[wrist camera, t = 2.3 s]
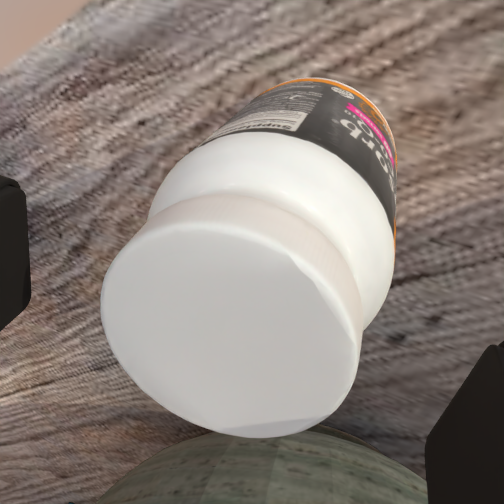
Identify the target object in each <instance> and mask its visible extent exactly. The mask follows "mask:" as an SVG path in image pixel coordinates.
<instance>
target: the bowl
mask: <svg viewBox="0 0 504 504" xmlns="http://www.w3.org/2000/svg"><path fill="white" fill-rule="evenodd" d="M95 504H428V494H427V481H425V480H424V479H422V478H421V477H419V476H418V475H417V474H415V473H414V472H412V471H411V470H409V469H408V468H406V467H405V466H403V465H402V464H400V463H399V462H397V461H395V460H393V459H390V458H388V457H386V456H384V455H383V454H382V453H381V452H380V451H379V450H377V449H376V448H374V447H373V446H371V445H369V444H368V443H366V442H364V441H363V440H361V439H359V438H357V437H354V436H352V435H350V434H347V433H345V432H342V431H340V430H337V429H334V428H331V427H327V426H324V425H320V424H316V425H314V426H312V427H310V428H308V429H306V430H304V431H301V432H298V433H295V434H290V435H286V436H280V437H271V438H246V437H239V436H233V435H227V434H223V433H218V432H212V433H209V434H205V435H202V436H199V437H195V438H192V439H189V440H185V441H182V442H180V443H177V444H175V445H172V446H170V447H167V448H165V449H164V450H162V451H160V452H159V453H157V454H155V455H154V456H152V457H151V458H149V459H147V460H146V461H144V462H143V463H141V464H140V465H138V466H137V467H136V468H134V469H133V470H132V471H130V472H129V473H127V474H126V475H125V476H124V477H122V478H121V479H120V480H119V481H118V482H117V483H116V484H114V485H113V486H112V487H111V488H110V489H109V490H108V491H107V492H106V493H105V494H104V495H103V496H102V497H101V498H100V499H99V500H98V501H97V502H96V503H95Z"/></svg>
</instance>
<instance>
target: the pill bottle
mask: <svg viewBox="0 0 504 504" xmlns="http://www.w3.org/2000/svg"><path fill="white" fill-rule="evenodd" d="M396 182H397V153H396V148H395V143H394V139H393V135H392V132H391V130H390V128H389V126H388V123H387V121H386V120H385V118H384V116H383V115H382V114H381V112H380V111H379V109H378V108H377V107H376V106H375V105H374V104H373V103H372V102H371V101H370V100H369V99H368V98H367V97H365V96H364V95H363V94H362V93H360V92H359V91H357V90H355V89H354V88H352V87H350V86H348V85H346V84H343V83H340V82H338V81H335V80H331V79H325V78H298V79H293V80H289V81H286V82H283V83H280V84H278V85H276V86H274V87H272V88H270V89H268V90H266V91H265V92H263V93H262V94H260V95H259V96H257V97H256V98H255V99H253V100H252V101H251V102H249V103H248V104H247V105H246V106H245V107H244V108H243V109H241V110H240V111H239V112H238V113H237V114H236V115H234V116H233V117H232V118H231V119H230V120H229V121H228V122H226V123H225V124H224V125H223V126H222V127H220V128H219V129H218V130H216V131H215V132H214V133H213V134H212V135H211V136H209V137H208V138H207V139H206V140H205V141H204V142H202V143H201V144H200V145H198V146H197V147H196V148H194V149H193V150H192V151H191V152H189V153H188V154H186V155H185V156H184V157H183V158H182V159H181V160H180V161H178V162H177V163H176V165H175V166H174V167H173V168H172V170H171V171H170V172H169V173H168V175H167V176H166V178H165V179H164V181H163V182H162V184H161V186H160V187H159V189H158V191H157V193H156V195H155V197H154V199H153V201H152V204H151V207H150V210H149V214H148V218H147V222H146V223H145V224H144V225H143V227H142V228H141V229H140V230H139V231H138V232H137V233H136V234H135V235H134V236H133V238H132V239H131V240H130V241H129V242H128V243H127V244H126V245H125V246H124V247H123V248H122V249H121V250H120V252H119V253H118V254H117V256H116V257H115V259H114V260H113V261H112V263H111V265H110V266H109V268H108V270H107V273H106V275H105V277H104V281H103V284H102V289H101V296H100V313H101V321H102V325H103V329H104V332H105V335H106V337H107V341H108V344H109V346H110V348H111V350H112V352H113V354H114V356H115V357H116V359H117V360H118V362H119V363H120V365H121V366H122V368H123V369H124V371H125V372H126V373H127V374H128V376H129V377H130V378H131V379H132V380H133V381H134V382H135V383H136V384H137V385H138V387H139V388H140V389H141V390H142V391H143V392H145V393H146V394H147V395H148V396H149V397H151V398H152V399H153V400H155V401H156V402H157V403H159V404H160V405H161V406H163V407H164V408H165V409H167V410H168V411H170V412H172V413H174V414H175V415H177V416H179V417H181V418H183V419H184V420H186V421H189V422H191V423H193V424H196V425H198V426H201V427H204V428H207V429H210V430H212V431H215V432H218V433H223V434H227V435H233V436H239V437H246V438H271V437H280V436H286V435H290V434H295V433H298V432H301V431H304V430H306V429H308V428H310V427H312V426H314V425H316V424H318V423H320V422H321V421H323V420H325V419H326V418H327V417H328V416H330V415H331V414H332V413H333V412H334V411H335V410H336V409H337V408H338V407H339V406H340V405H341V403H342V402H343V401H344V399H345V398H346V396H347V394H348V393H349V391H350V389H351V387H352V385H353V382H354V380H355V377H356V373H357V368H358V364H359V358H360V351H361V344H362V334H363V330H364V329H365V328H366V327H367V326H368V325H369V324H370V323H371V321H372V320H373V319H374V317H375V316H376V315H377V313H378V311H379V310H380V308H381V307H382V305H383V303H384V301H385V299H386V296H387V294H388V291H389V288H390V285H391V281H392V276H393V272H394V263H395V237H396Z"/></svg>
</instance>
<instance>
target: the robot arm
mask: <svg viewBox="0 0 504 504" xmlns="http://www.w3.org/2000/svg"><path fill="white" fill-rule="evenodd" d="M30 298H31V277H30V259H29V241H28V224H27V206H26V195H25V193H24V191H23V190H21V189H20V186H19V184H18V182H17V181H15V180H14V179H11V178H7V177H4V176H1V175H0V331H1V330H2V329H3V328H4V327H5V326H7V325H8V324H9V323H10V322H11V321H12V320H13V319H14V318H16V317H17V316H18V315H19V314H20V313H21V312H22V311H23V310H24V309H25V308H26V307H27V305H28V304H29V301H30ZM425 466H426V480H427V494H428V504H504V341H503V342H502V343H500V344H499V345H498V346H497V345H490V346H488V347H487V349H486V350H485V351H484V353H483V354H482V356H481V357H480V359H479V360H478V362H477V363H476V365H475V366H474V368H473V369H472V371H471V372H470V374H469V375H468V377H467V378H466V380H465V381H464V383H463V384H462V386H461V387H460V389H459V390H458V392H457V393H456V395H455V396H454V398H453V399H452V401H451V402H450V404H449V405H448V407H447V408H446V410H445V411H444V413H443V414H442V416H441V417H440V419H439V420H438V422H437V423H436V425H435V426H434V428H433V429H432V431H431V432H430V434H429V435H428V438H427V440H426V445H425Z"/></svg>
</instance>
